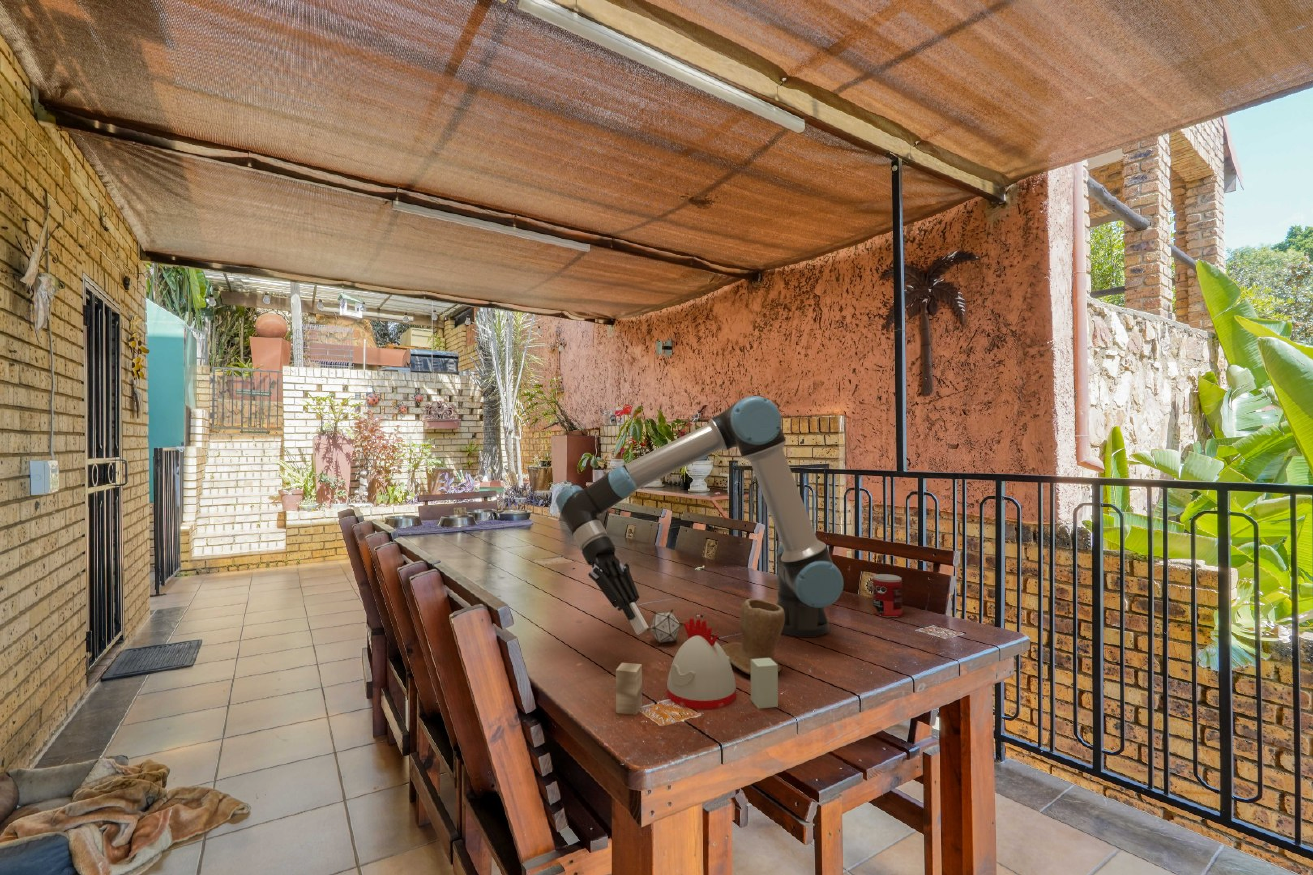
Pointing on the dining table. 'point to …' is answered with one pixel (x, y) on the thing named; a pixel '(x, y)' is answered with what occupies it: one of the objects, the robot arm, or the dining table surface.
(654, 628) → the game die
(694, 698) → the kitchen timer
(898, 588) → the canned food
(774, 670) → the sage block
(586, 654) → the dining table surface
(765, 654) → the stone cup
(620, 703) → the birch block
